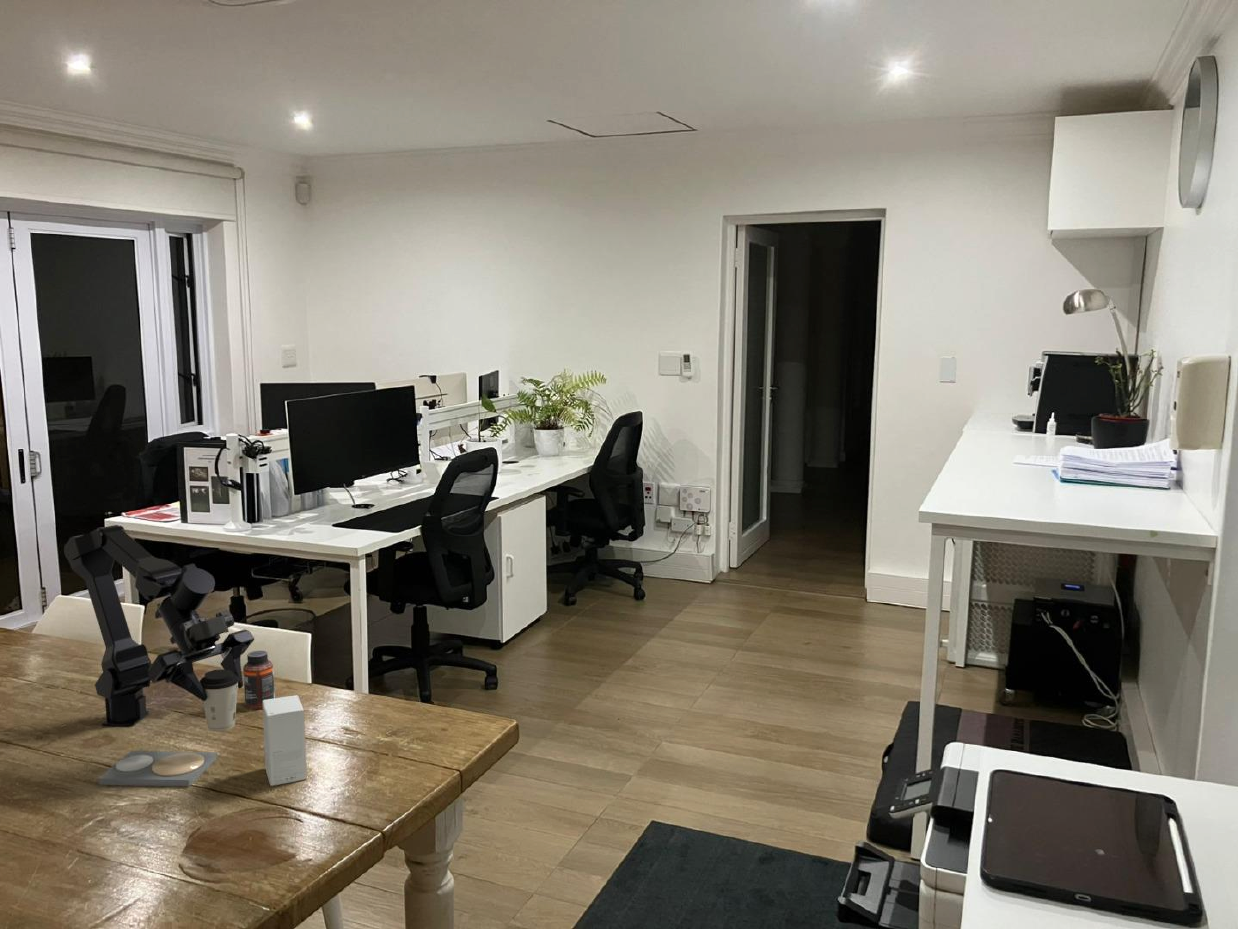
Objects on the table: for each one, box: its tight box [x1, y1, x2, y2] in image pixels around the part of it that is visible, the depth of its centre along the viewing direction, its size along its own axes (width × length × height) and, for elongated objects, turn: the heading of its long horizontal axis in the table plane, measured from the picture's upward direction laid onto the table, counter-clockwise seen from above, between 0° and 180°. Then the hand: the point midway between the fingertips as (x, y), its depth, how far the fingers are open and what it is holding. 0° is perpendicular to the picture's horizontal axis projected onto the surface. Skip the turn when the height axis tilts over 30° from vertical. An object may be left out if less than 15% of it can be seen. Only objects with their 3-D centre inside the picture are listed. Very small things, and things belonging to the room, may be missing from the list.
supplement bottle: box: [242, 650, 276, 710], centre depth 204 cm, size 6×6×11 cm
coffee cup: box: [199, 669, 239, 732], centre depth 177 cm, size 7×7×10 cm
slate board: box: [98, 750, 218, 788], centre depth 174 cm, size 16×11×2 cm
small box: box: [262, 694, 308, 787], centre depth 173 cm, size 8×6×13 cm
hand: (223, 693), depth 176 cm, fingers closed on coffee cup, 7 cm apart
